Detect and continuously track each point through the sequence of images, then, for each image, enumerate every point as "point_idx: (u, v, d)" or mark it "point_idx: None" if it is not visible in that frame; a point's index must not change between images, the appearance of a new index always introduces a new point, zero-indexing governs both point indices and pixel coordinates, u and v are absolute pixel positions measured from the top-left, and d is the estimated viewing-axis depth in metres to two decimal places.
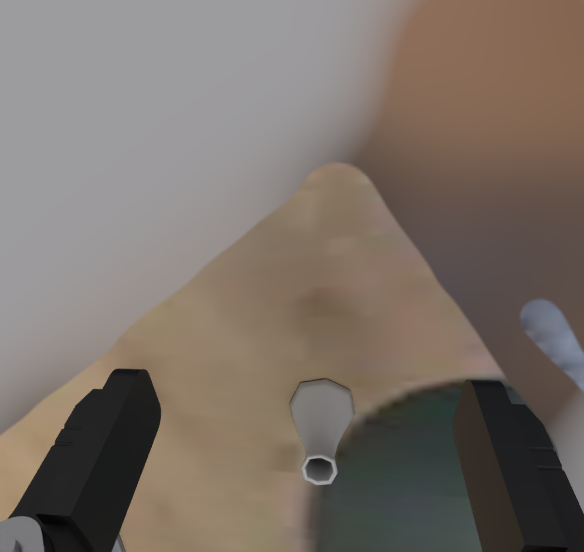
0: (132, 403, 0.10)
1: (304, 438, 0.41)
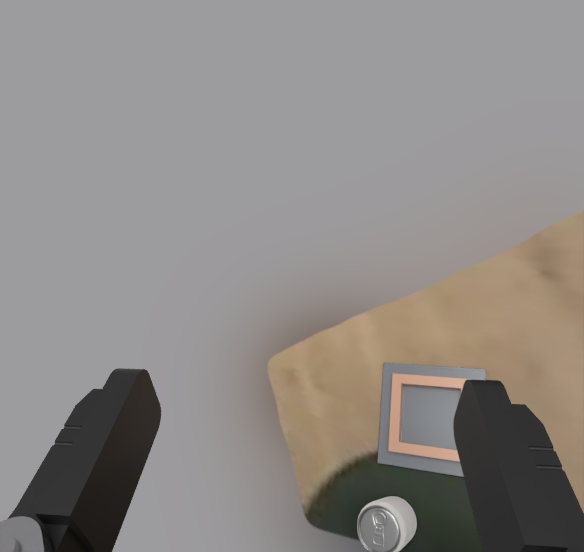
0: (132, 403, 0.10)
1: None
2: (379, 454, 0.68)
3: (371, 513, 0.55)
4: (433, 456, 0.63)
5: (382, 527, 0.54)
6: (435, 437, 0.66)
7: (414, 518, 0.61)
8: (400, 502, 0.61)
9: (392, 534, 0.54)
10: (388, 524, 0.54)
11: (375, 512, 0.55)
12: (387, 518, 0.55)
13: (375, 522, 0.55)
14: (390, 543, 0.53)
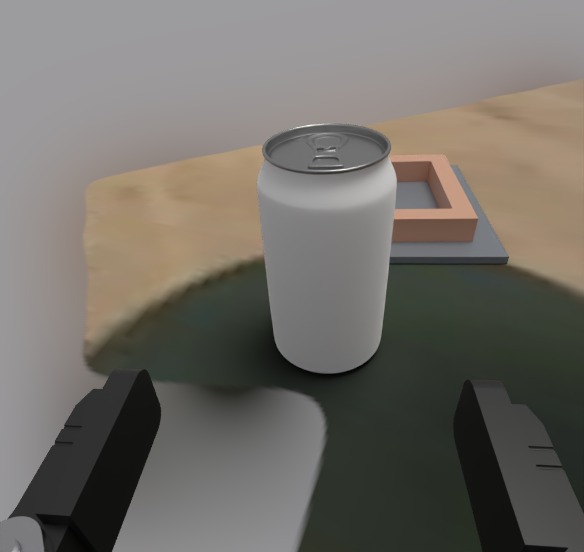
0: (132, 403, 0.10)
1: None
2: None
3: (303, 138, 0.20)
4: (403, 218, 0.31)
5: (334, 149, 0.19)
6: None
7: None
8: None
9: (364, 152, 0.18)
10: (352, 144, 0.19)
11: (314, 136, 0.20)
12: (348, 139, 0.20)
13: (316, 145, 0.19)
14: (362, 161, 0.18)
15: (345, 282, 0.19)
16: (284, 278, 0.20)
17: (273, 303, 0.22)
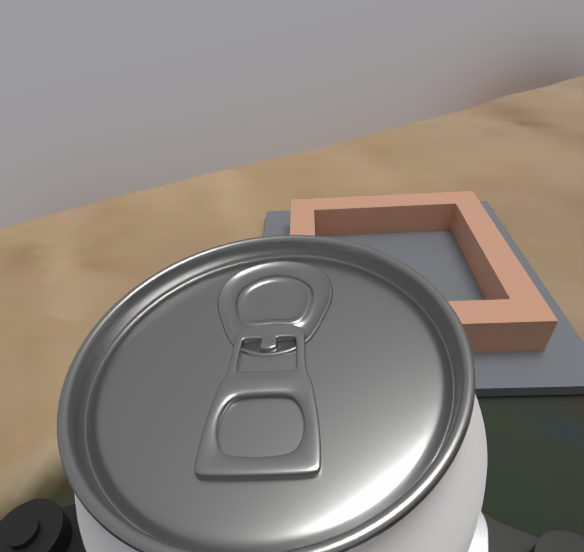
0: None
1: None
2: None
3: (213, 288, 0.08)
4: None
5: (293, 341, 0.06)
6: None
7: None
8: None
9: (385, 361, 0.06)
10: (343, 312, 0.07)
11: (242, 279, 0.08)
12: (331, 287, 0.07)
13: (242, 322, 0.07)
14: (387, 426, 0.05)
15: None
16: None
17: None
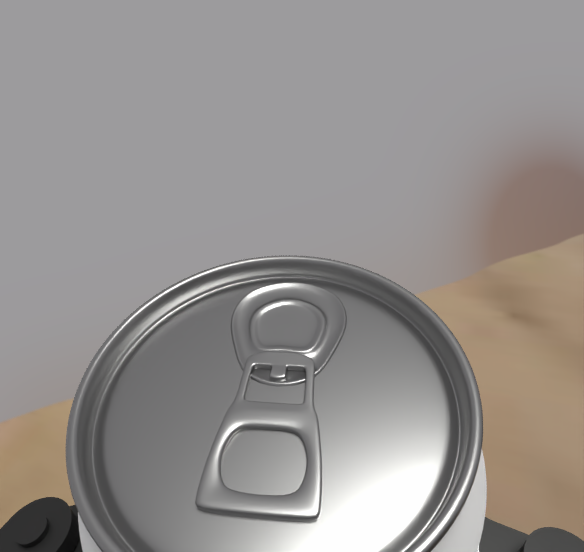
0: None
1: None
2: None
3: (227, 305, 0.08)
4: None
5: (303, 371, 0.06)
6: None
7: None
8: None
9: (392, 404, 0.06)
10: (355, 346, 0.07)
11: (257, 298, 0.08)
12: (345, 316, 0.07)
13: (254, 345, 0.07)
14: (389, 475, 0.05)
15: None
16: None
17: None
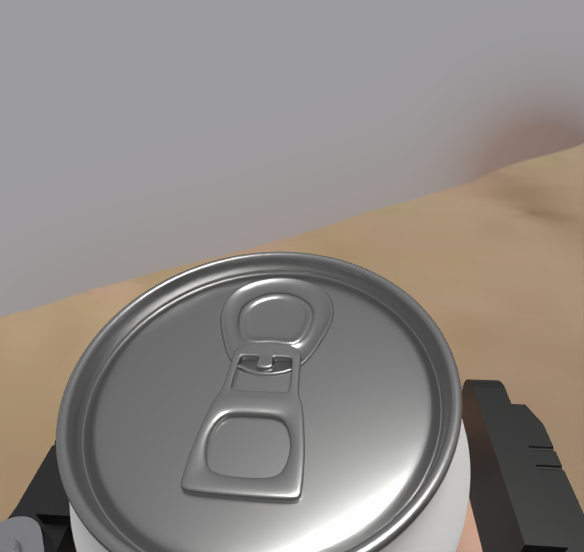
0: None
1: None
2: None
3: (218, 300, 0.08)
4: None
5: (290, 362, 0.07)
6: None
7: None
8: None
9: (376, 391, 0.06)
10: (341, 337, 0.07)
11: (247, 293, 0.08)
12: (332, 309, 0.07)
13: (242, 337, 0.07)
14: (370, 459, 0.05)
15: None
16: None
17: None
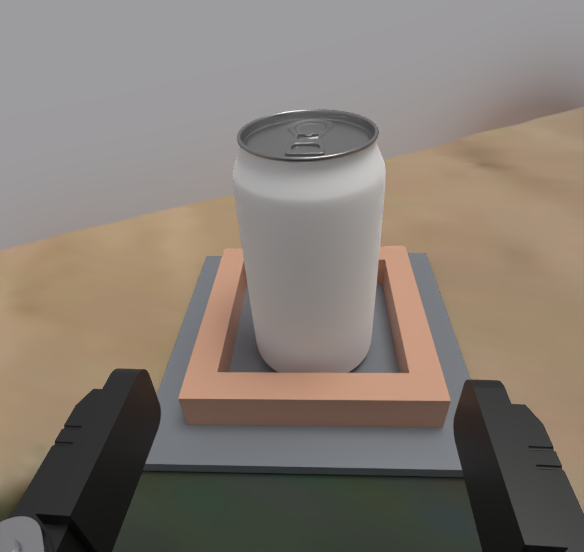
0: (132, 403, 0.10)
1: None
2: None
3: (285, 125, 0.18)
4: (327, 396, 0.19)
5: (317, 136, 0.17)
6: None
7: None
8: None
9: (349, 139, 0.17)
10: (337, 131, 0.18)
11: (297, 123, 0.19)
12: (333, 125, 0.18)
13: (298, 131, 0.18)
14: (346, 149, 0.16)
15: (327, 283, 0.17)
16: (261, 278, 0.18)
17: (252, 304, 0.21)
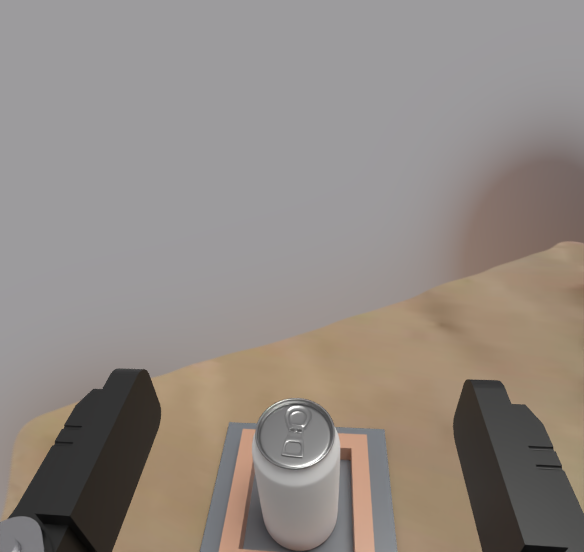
0: (132, 403, 0.10)
1: None
2: None
3: (283, 412, 0.31)
4: None
5: (301, 430, 0.30)
6: None
7: None
8: None
9: (318, 438, 0.30)
10: (313, 424, 0.30)
11: (290, 410, 0.31)
12: (311, 416, 0.31)
13: (290, 423, 0.31)
14: (315, 451, 0.29)
15: (304, 513, 0.30)
16: (266, 502, 0.31)
17: (261, 504, 0.33)
